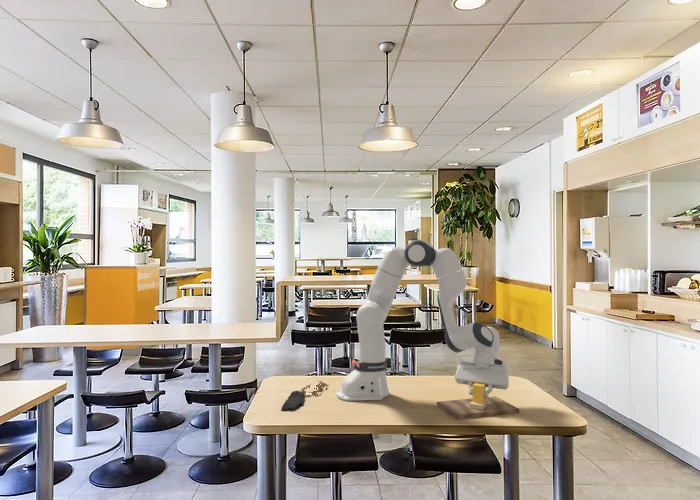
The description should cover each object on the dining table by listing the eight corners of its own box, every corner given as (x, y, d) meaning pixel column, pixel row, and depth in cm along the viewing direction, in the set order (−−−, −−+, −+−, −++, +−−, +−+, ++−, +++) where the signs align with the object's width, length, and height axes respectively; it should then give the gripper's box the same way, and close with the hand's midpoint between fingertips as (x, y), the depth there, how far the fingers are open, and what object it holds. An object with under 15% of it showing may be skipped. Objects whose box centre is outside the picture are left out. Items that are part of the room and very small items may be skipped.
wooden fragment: (318, 399, 202) (318, 396, 202) (292, 397, 205) (292, 395, 205) (334, 382, 227) (334, 380, 227) (311, 381, 230) (311, 379, 230)
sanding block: (483, 409, 183) (483, 388, 183) (469, 407, 185) (469, 386, 185) (488, 403, 191) (488, 382, 190) (475, 401, 193) (475, 380, 193)
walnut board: (455, 419, 177) (455, 415, 177) (436, 405, 192) (436, 401, 192) (519, 412, 184) (519, 408, 184) (495, 400, 199) (495, 396, 199)
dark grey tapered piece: (299, 412, 185) (299, 404, 185) (280, 412, 186) (280, 404, 186) (310, 395, 207) (310, 388, 207) (293, 395, 208) (293, 387, 208)
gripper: (456, 356, 198) (450, 387, 190) (509, 362, 189) (504, 394, 180) (459, 365, 202) (453, 395, 194) (511, 371, 193) (507, 403, 184)
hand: (478, 395), depth 187 cm, fingers closed on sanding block, 4 cm apart
